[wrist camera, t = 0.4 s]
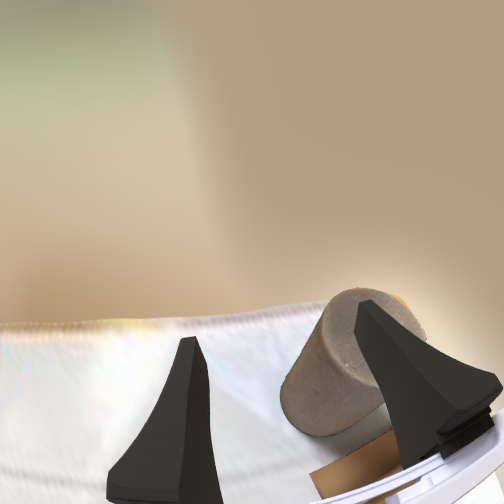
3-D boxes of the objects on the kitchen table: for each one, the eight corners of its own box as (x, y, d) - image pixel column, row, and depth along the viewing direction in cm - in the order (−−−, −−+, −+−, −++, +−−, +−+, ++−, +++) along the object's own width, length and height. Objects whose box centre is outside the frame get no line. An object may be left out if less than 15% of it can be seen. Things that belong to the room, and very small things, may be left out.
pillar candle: (274, 364, 32) (312, 274, 22) (349, 359, 34) (409, 276, 24) (285, 443, 25) (346, 391, 15) (368, 429, 27) (454, 367, 17)
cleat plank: (458, 460, 22) (473, 453, 20) (346, 545, 16) (360, 547, 14) (426, 404, 29) (439, 395, 27) (309, 473, 22) (319, 470, 21)
